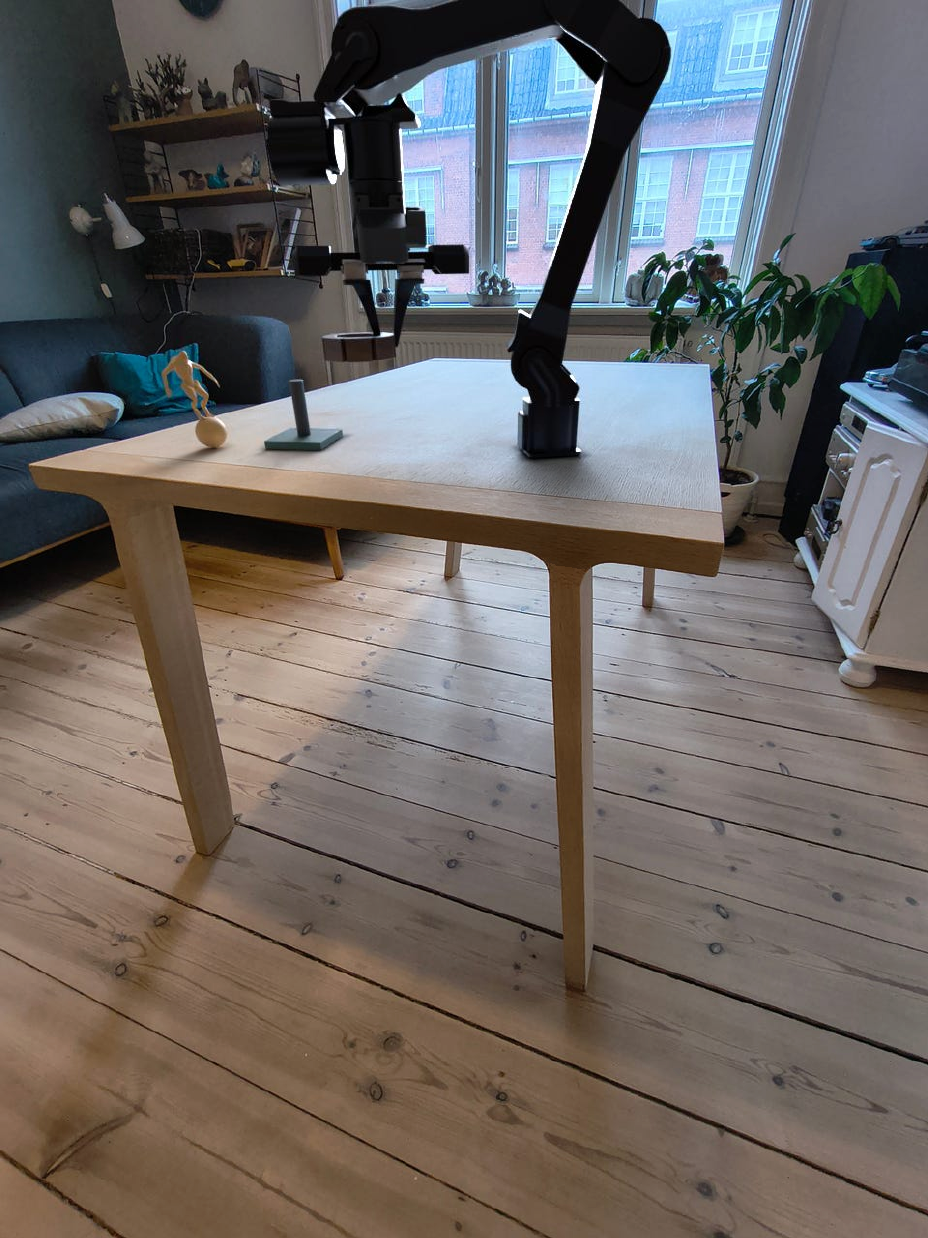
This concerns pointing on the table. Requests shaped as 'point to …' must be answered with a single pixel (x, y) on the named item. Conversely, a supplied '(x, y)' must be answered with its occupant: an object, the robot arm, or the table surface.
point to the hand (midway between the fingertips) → (387, 347)
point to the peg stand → (302, 427)
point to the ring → (358, 347)
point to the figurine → (208, 427)
